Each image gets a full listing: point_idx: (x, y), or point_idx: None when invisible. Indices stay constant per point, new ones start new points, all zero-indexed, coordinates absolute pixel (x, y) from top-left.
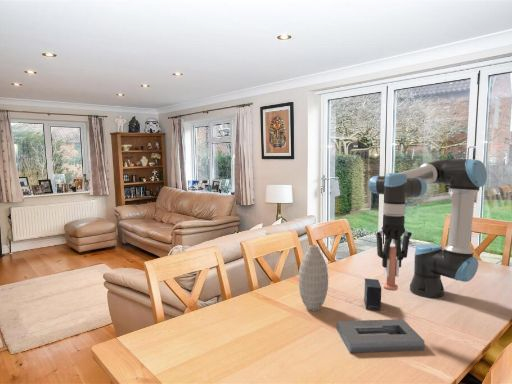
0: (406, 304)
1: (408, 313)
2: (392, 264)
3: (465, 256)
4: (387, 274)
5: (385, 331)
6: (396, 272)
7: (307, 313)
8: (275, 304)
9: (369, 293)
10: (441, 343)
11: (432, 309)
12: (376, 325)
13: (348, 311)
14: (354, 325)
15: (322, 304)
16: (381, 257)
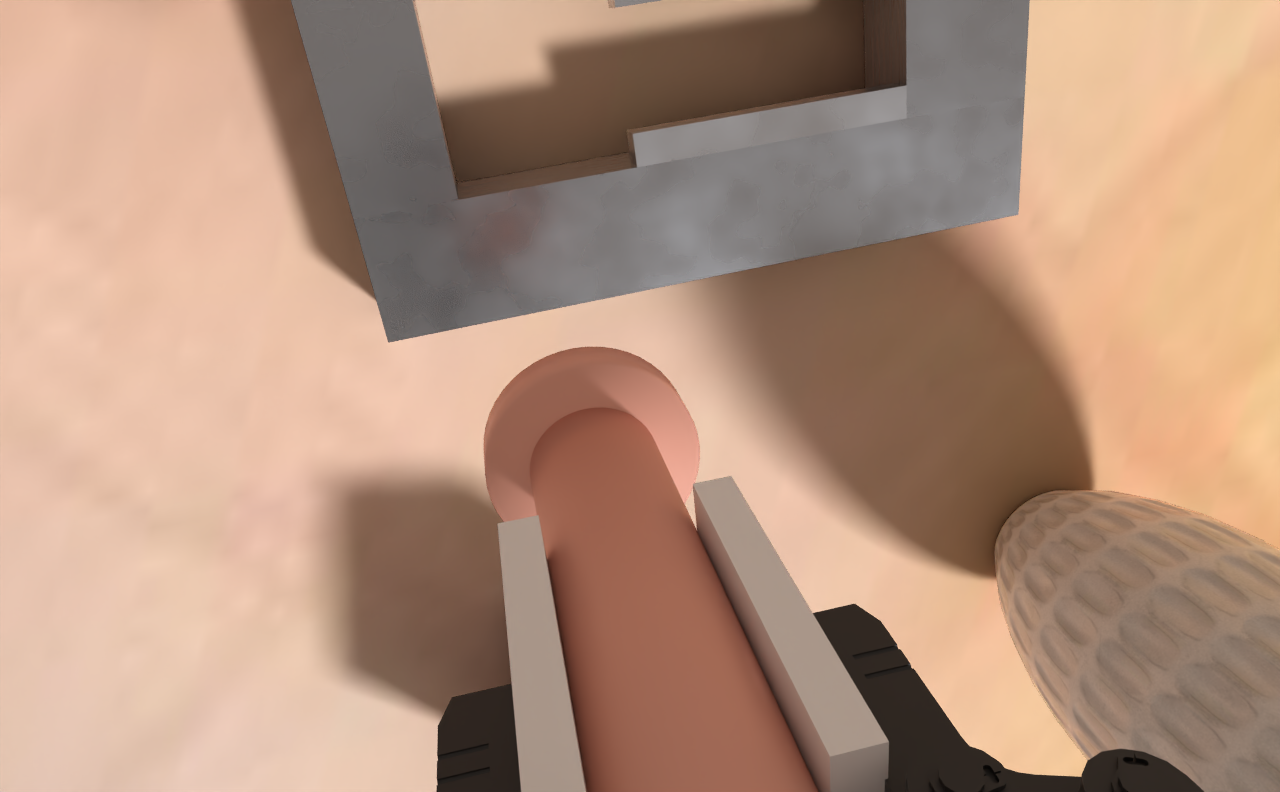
0: (267, 747)
1: (281, 589)
2: (696, 674)
3: None
4: (733, 503)
5: (588, 165)
6: (548, 572)
7: (1107, 442)
8: (1277, 538)
9: None
10: (45, 29)
11: (27, 707)
12: (687, 169)
13: (794, 529)
14: (892, 145)
15: (1017, 536)
16: (1111, 762)
